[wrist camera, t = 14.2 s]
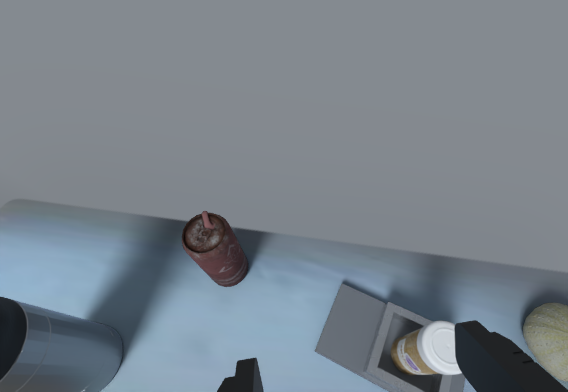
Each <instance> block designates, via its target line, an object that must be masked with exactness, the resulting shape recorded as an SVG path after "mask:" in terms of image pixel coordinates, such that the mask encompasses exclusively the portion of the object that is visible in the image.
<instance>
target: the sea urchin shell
mask: <svg viewBox="0 0 568 392" xmlns="http://www.w3.org/2000/svg"><path fill="white" fill-rule="evenodd" d="M523 335H524V338H525V341H526V342H527V345H528V348H529V349H530V350H531V351H532V353H533V354H534V355H535V357H536V359H537V361H538V362H539V363H540V364H541V365H542V366H543V367H544V368H545V369H546V370H547V371H548V372H549V373H550V374H552V375H553V376H555V377H557V378H558V379H560V380H563V381H567V382H568V306H567V305H563V304H560V303H545V304H543V305H541V306H539V307H536V308H535V309H534V310H533V311H532V312H531V314H529V315H528V316H527V317H526V319H525V323H524V326H523Z"/></svg>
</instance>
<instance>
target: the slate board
mask: <svg viewBox="0 0 568 392" xmlns="http://www.w3.org/2000/svg"><path fill="white" fill-rule="evenodd" d="M385 304H386V303H384V302H382V301H380V300H377V299H375V298H373V297H371V296H368V295H366V294H364V293H362V292H360V291H357V290H355V289H353V288H351V287H349V286H346V285H344V284H341V286H340V289H339V291H338V294H337V296H336V299H335V301H334V304H333V306H332V309H331V311H330V314H329V316H328V319H327V321H326V324H325V326H324V329H323V331H322V334H321V337H320V339H319V342H318V344H317V347H316V349H315V352H317V353H319V354H320V355H322V356H324V357H326V358H328V359H330V360H331V361H333V362H335V363H337V364H339V365H341V366H343V367H344V368H346V369H348V370H350V371H352V372H354V373H356V374H357V375H359V376H361V377H363V378H365V379H367V380H369V381H370V382H372V383H374V384H376V385H378V386H380V387H382V388H383V389H385V390H387V391H389V392H399V391H398V390H396V389H394V388H392V387H390V386H388V385H386V384H384V383H383V382H381V381H379V380H377V379H375V378H373V377H371V376H369V375H368V374H366V373H364V372H363V370H364V367H365V364H366V361H367V357H368V354H369V351H370V348H371V345H372V342H373V339H374V335H375V332H376V329H377V326H378V323H379V320H380V317H381V313H382V310H383V307H384V305H385ZM416 330H417V329H415V328H413V327H411V326H409V325H407V324H404V323H402V322H400V321H398V320H396V319H394V318H392V320H391V323H390V326H389V330H388V333H387V336H386V340H385V343H384V346H383V350H382V353H381V356H380V360H379V363H378V366H377V367H378V368H380V369H382V370H384V371H386V372H388V373H390V374H392V375H394V376H396V377H397V378H399V379H401V380H403V381H405V382H407V383H409V384H411V385H413V386H415V387H417V388H419V389H420V390H422V391H424V392H430V390H431V385H432V381H433V376H434V374H429V375H407V374H405V373H403V372H401V371H400V370H399V369H397V367H396V366H395V364H394V362H393V360H392V357H391V347H392V344H393V342H394V341H395V340H396V339H398V338H400V337H404V336H405V335H407V334H409V333H411V332H413V331H416ZM464 383H465V376H464V375H463V374H462V373H461V374H456V375H452V379H451V385H450V390H449V392H463V388H464Z"/></svg>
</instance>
